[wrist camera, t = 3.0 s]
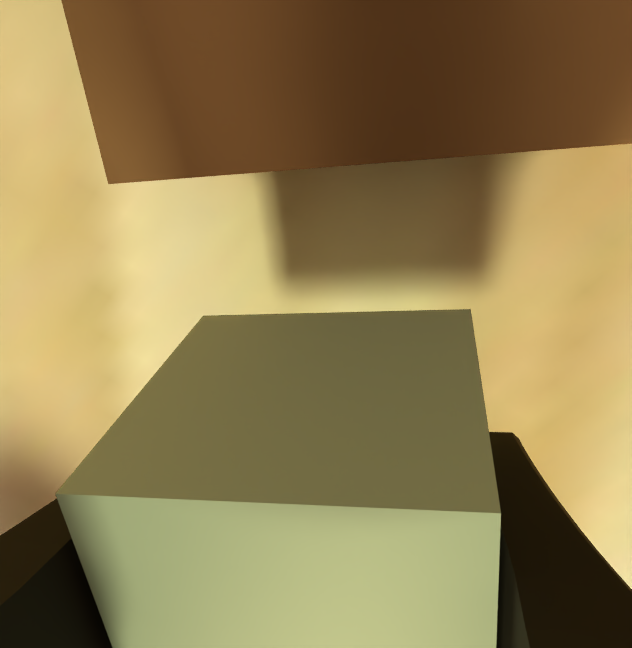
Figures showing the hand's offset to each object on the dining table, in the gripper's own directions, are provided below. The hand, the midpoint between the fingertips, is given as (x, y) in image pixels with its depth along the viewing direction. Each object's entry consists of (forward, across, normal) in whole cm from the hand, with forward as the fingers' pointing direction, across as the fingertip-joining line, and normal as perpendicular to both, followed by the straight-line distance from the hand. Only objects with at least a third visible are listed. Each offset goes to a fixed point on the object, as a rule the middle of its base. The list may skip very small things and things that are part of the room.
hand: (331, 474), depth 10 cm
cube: (+2, 0, 0) cm, 2 cm away
